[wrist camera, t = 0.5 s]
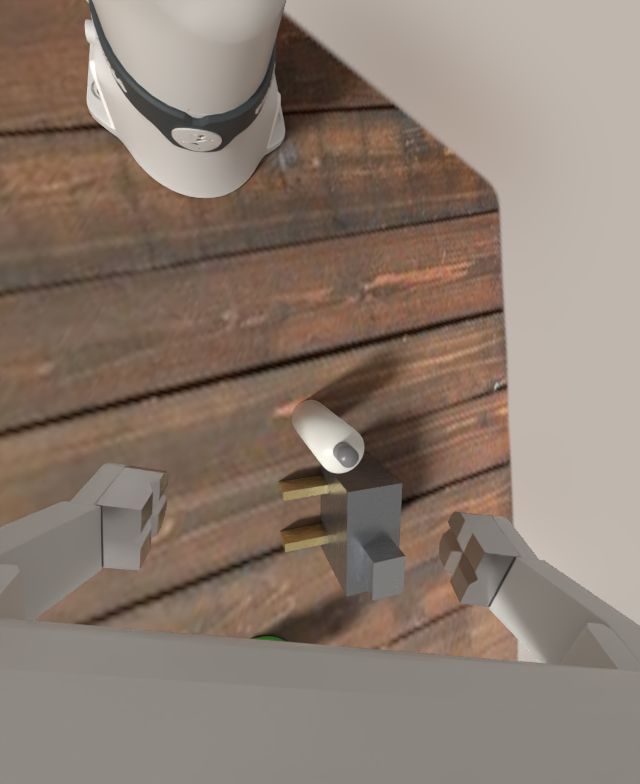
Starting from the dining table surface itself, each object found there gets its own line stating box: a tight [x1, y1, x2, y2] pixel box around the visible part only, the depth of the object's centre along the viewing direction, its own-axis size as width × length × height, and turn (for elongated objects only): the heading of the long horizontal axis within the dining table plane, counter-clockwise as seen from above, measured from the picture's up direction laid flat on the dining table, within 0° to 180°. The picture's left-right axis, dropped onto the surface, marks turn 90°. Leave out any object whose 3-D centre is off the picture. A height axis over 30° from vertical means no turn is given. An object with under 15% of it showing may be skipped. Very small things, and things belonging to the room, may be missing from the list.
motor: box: [279, 452, 405, 601], centre depth 46 cm, size 16×13×13 cm
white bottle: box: [291, 400, 364, 473], centre depth 41 cm, size 5×5×14 cm
